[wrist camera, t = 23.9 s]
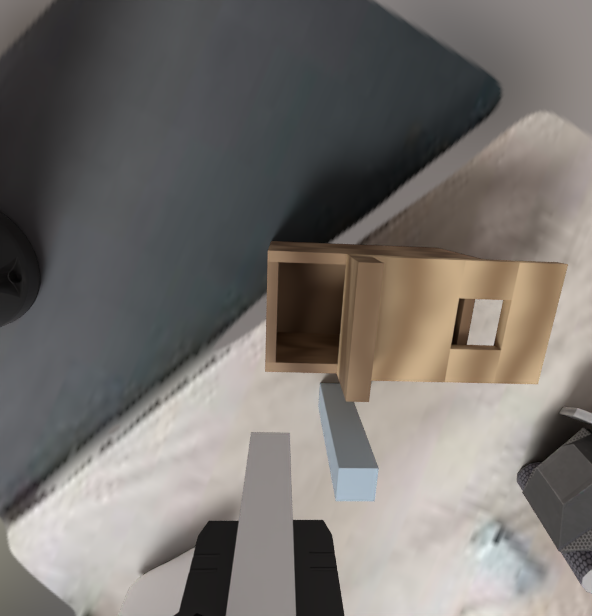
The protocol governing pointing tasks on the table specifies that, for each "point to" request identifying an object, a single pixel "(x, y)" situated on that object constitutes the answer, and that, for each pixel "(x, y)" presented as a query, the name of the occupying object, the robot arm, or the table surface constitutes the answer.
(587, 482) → the electronic device
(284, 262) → the open wooden box
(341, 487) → the blue-gray rectangular block
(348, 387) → the tan holed block
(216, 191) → the table surface
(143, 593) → the cable organizer
